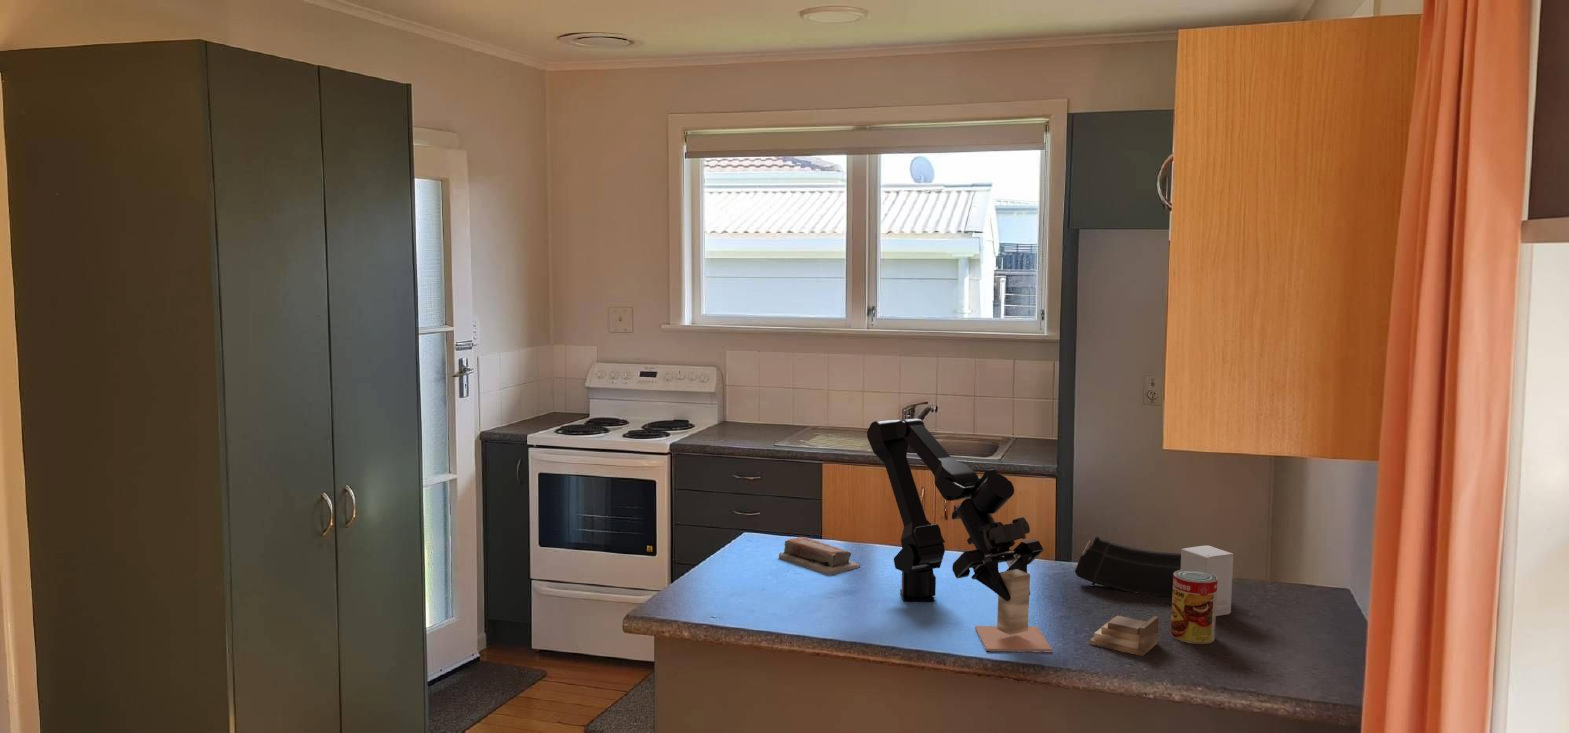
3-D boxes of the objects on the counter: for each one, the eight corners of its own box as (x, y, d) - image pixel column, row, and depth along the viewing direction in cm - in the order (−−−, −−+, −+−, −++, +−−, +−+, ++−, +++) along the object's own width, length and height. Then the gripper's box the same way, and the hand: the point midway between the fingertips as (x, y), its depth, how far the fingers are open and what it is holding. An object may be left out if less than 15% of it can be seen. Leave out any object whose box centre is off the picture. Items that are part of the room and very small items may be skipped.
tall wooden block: (997, 629, 207) (999, 572, 206) (1014, 625, 210) (1017, 569, 208) (1009, 635, 204) (1012, 577, 203) (1027, 630, 207) (1030, 574, 205)
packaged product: (777, 539, 259) (808, 532, 266) (776, 559, 260) (807, 552, 266) (830, 556, 246) (861, 548, 253) (830, 577, 246) (861, 569, 253)
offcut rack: (1089, 644, 206) (1090, 617, 205) (1105, 632, 212) (1106, 605, 211) (1142, 656, 200) (1144, 628, 199) (1157, 643, 206) (1158, 616, 205)
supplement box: (1231, 614, 223) (1235, 553, 222) (1203, 618, 220) (1206, 557, 219) (1205, 603, 230) (1208, 544, 228) (1177, 607, 227) (1180, 547, 226)
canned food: (1166, 628, 214) (1169, 568, 213) (1207, 630, 214) (1211, 570, 212) (1176, 643, 207) (1179, 580, 205) (1219, 644, 206) (1223, 582, 204)
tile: (986, 651, 201) (986, 648, 201) (975, 628, 213) (975, 625, 213) (1051, 652, 201) (1052, 649, 201) (1036, 629, 213) (1037, 626, 213)
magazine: (1239, 559, 231) (1099, 505, 240) (1239, 563, 228) (1098, 508, 237) (1209, 631, 235) (1073, 575, 244) (1209, 636, 232) (1071, 580, 241)
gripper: (964, 510, 203) (1002, 584, 195) (1038, 498, 212) (1078, 569, 204) (935, 541, 210) (972, 614, 202) (1009, 529, 220) (1046, 598, 212)
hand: (1018, 598), depth 205 cm, fingers closed on tall wooden block, 4 cm apart
